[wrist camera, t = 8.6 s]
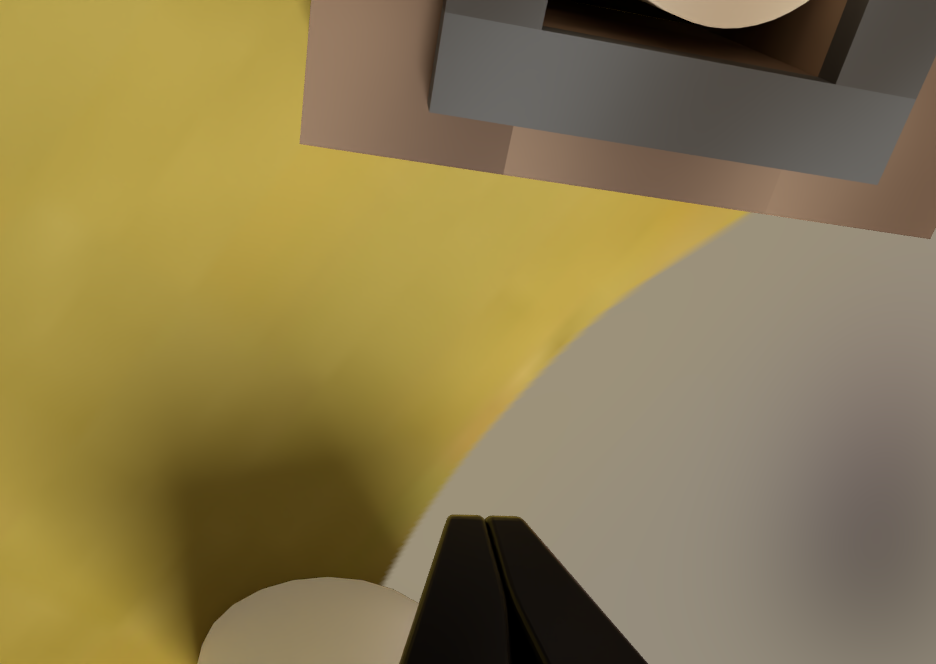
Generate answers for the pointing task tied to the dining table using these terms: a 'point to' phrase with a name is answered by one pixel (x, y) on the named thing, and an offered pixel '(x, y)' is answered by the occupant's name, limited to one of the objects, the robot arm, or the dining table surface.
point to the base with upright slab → (313, 625)
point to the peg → (727, 11)
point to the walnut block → (644, 101)
